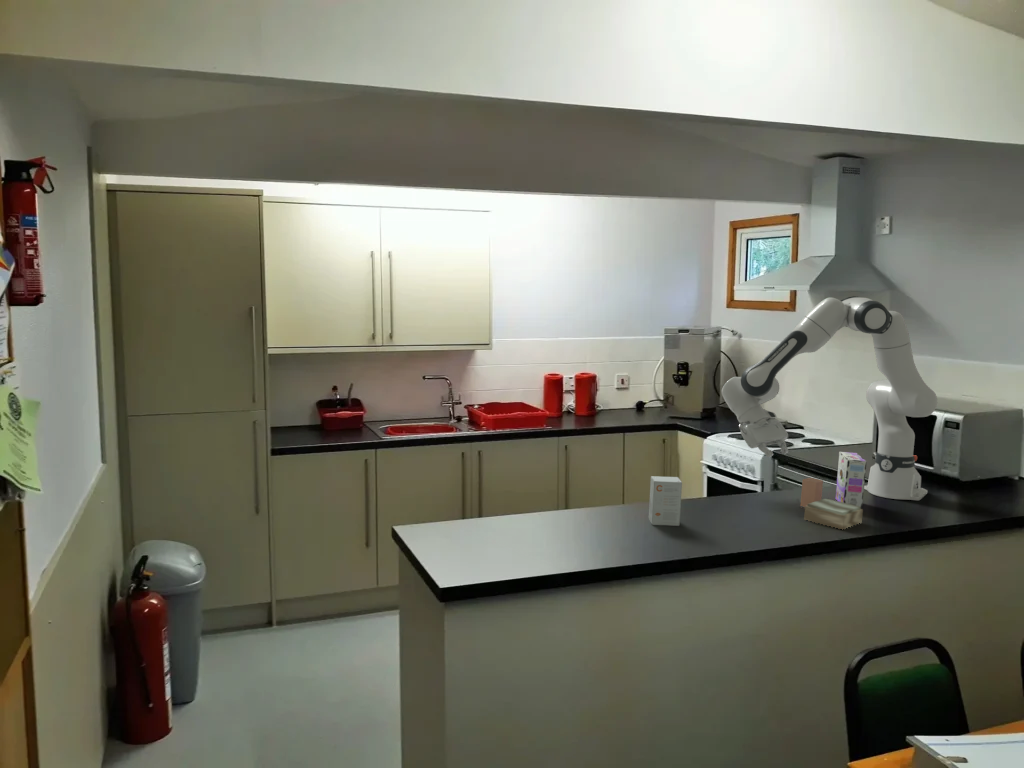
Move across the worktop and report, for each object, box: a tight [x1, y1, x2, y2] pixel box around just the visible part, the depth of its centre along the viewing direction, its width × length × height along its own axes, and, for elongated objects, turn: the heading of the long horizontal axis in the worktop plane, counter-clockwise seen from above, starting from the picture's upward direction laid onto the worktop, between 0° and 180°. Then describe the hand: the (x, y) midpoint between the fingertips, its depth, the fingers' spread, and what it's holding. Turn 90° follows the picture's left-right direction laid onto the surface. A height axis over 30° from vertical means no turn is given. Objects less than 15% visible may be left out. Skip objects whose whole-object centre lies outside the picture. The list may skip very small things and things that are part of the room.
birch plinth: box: [803, 498, 864, 531], centre depth 242 cm, size 12×12×5 cm
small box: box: [648, 475, 683, 527], centre depth 234 cm, size 8×6×13 cm
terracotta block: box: [800, 477, 824, 507], centre depth 256 cm, size 4×4×9 cm
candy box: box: [835, 451, 867, 509], centre depth 260 cm, size 14×6×16 cm, turn 168°
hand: (778, 454), depth 264 cm, fingers open, 8 cm apart
